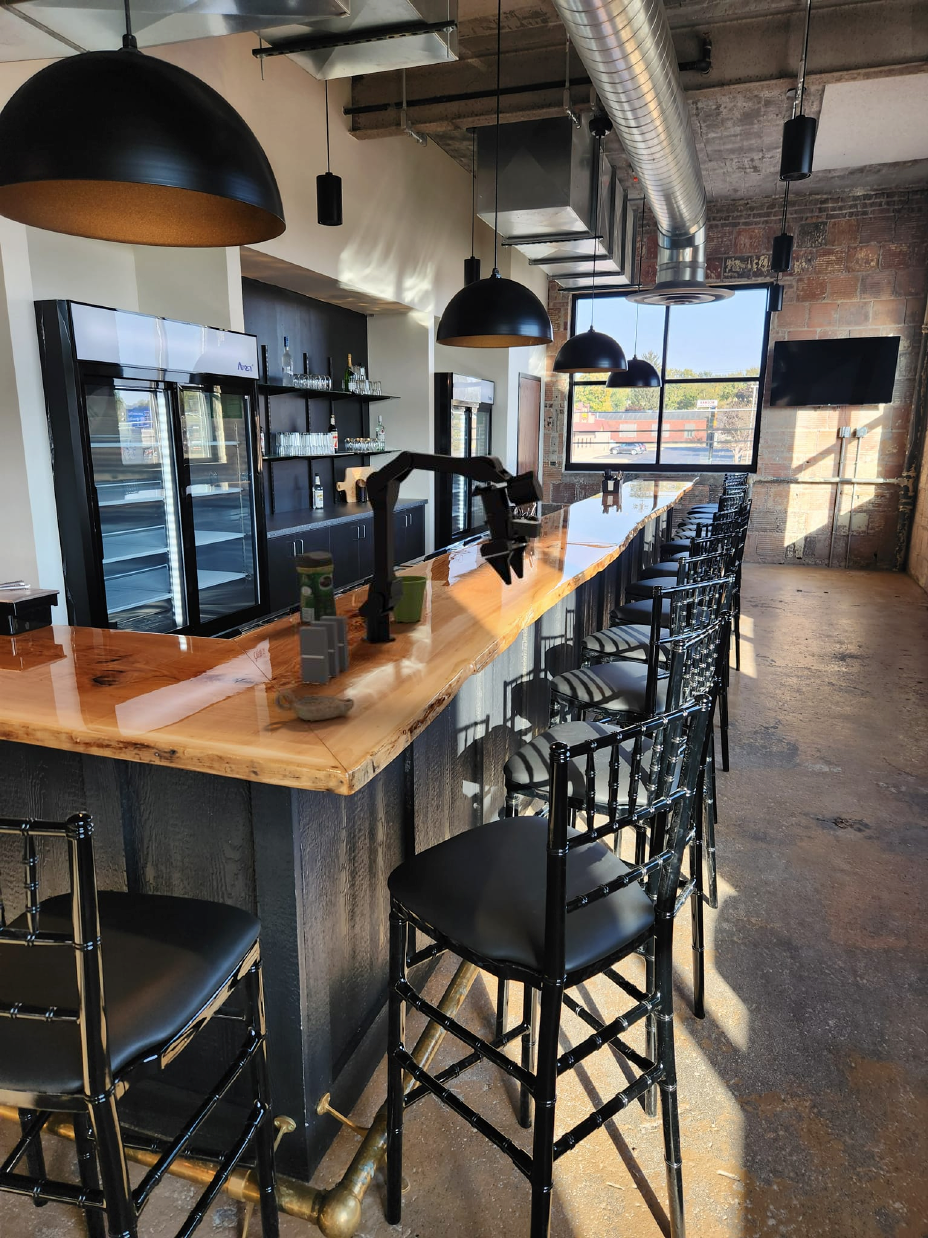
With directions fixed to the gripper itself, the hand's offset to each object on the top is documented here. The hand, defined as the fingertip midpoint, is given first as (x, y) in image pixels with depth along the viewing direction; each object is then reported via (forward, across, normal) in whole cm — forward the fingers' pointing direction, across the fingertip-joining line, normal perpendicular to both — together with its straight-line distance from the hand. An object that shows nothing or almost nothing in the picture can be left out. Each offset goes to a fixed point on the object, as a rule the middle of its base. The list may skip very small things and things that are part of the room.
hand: (515, 581), depth 173 cm
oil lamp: (+11, -54, +23) cm, 60 cm away
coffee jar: (0, +15, +61) cm, 63 cm away
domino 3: (+7, -26, +34) cm, 44 cm away
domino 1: (+8, -36, +33) cm, 49 cm away
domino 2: (+7, -31, +34) cm, 46 cm away
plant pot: (+6, +22, +39) cm, 46 cm away
